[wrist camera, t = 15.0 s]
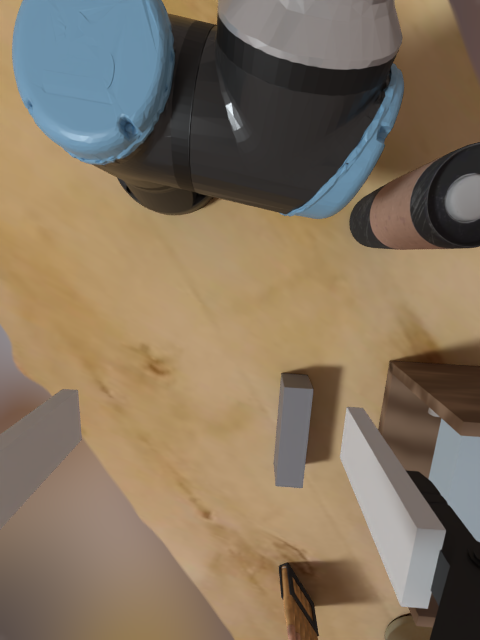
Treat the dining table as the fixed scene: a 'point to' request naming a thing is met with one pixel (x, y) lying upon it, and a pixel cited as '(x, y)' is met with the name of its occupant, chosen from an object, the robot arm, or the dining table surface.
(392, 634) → the planter bowl
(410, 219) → the travel mug
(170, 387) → the dining table surface
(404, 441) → the shelf frame
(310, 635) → the ammunition clip
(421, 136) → the dining table surface
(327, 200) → the robot arm
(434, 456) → the shelf board
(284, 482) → the grey rectangular block
